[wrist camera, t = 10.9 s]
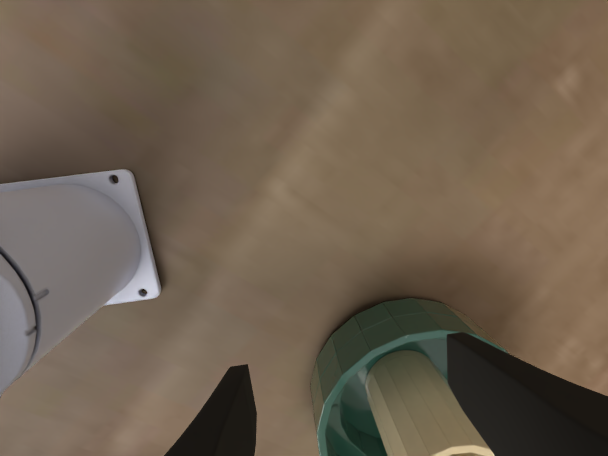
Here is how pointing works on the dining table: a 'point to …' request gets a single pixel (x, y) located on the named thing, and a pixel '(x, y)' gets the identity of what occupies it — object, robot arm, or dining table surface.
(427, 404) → the cup
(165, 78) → the dining table surface
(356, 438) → the bowl
